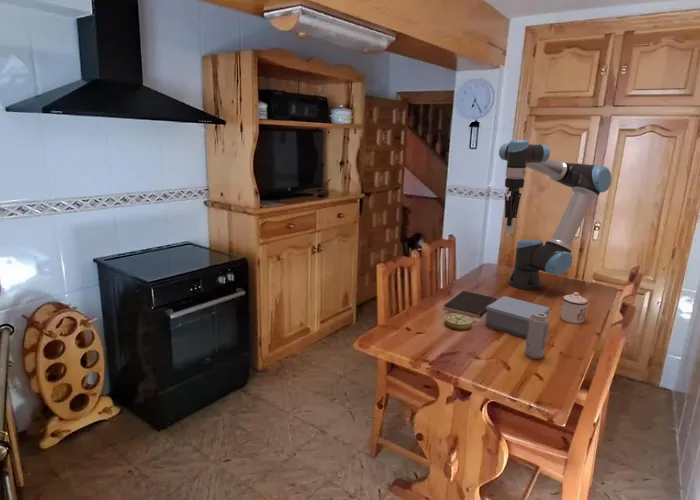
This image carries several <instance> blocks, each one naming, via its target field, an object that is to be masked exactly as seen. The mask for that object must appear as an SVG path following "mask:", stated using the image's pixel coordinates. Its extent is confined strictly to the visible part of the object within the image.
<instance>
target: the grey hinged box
mask: <svg viewBox="0 0 700 500" xmlns="http://www.w3.org/2000/svg"><path fill="white" fill-rule="evenodd" d="M549 312H550V311H549ZM549 312H547V313H546V314H547V315H548V316H547V318H548V319H549ZM528 326H529V322H528V321H525V320H521V319H518V318H514V317H511V316H508V315H504V314H501V313H497V312H494V311H490V310H487V312H486V316H485V327H488V328H491V329H494V330H497V331H500V332H502V333H503V332H504V333H507V334H510V335H512V336H516V337H520V338H522V339H526V340H527V333H528Z"/></svg>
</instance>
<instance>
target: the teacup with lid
mask: <svg viewBox="0 0 700 500" xmlns="http://www.w3.org/2000/svg"><path fill="white" fill-rule="evenodd" d="M587 304H588V299H586V297H583V296H582V295H580V293H579V292H578V291H577V292H576V291H574V292H572V293H571V294H566V295H564V296H563V297H562V304H561V305H562V307H561V312H560V318H561V319H562V320H563V321H564V322H567V323H571V324H583V323H584V321H585V316H586V312H587V311H586V310H587Z"/></svg>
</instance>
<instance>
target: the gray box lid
mask: <svg viewBox="0 0 700 500" xmlns="http://www.w3.org/2000/svg"><path fill="white" fill-rule="evenodd" d="M486 309H487V310H490V311H494V312H497V313H501V314H504V315H508V316H511V317H514V318H518V319H521V320H525V321H528V322H529V318H530V316H531V315H532V313H533V312H542V313H545V314H546V313H547V312H550V311H551V307H547V306H544V305H541V304H536V303H533V302H529V301H525V300H521V299H518V298H515V297H510V296H507V295H503V296H501V297H500V298H499V299H498V298H497V301H495V302H493V303H492V304H490V305H488V306H487V308H486Z"/></svg>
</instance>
